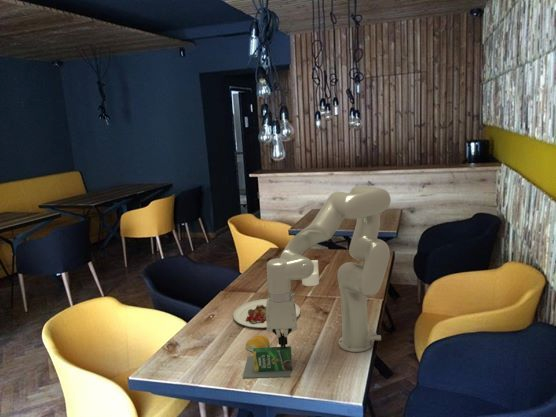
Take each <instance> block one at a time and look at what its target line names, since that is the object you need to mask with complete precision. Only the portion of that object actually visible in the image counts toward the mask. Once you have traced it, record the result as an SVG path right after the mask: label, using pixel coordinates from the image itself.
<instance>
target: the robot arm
mask: <svg viewBox="0 0 556 417" xmlns="http://www.w3.org/2000/svg"><path fill="white" fill-rule="evenodd" d="M390 205H391V196H390V193H389V191H387V190H386V189H385V188H383V187H382V188H380V187H376V186H368V185H355V186H353V187H352V188H351V189H350V192H349V193H348V192H343V191H336V192H333V193H332V194H330V195H329V196H328V197H327V199H326V200H325V202H324V204H323V205H322V206H321V208H320V210H319V211H318V213H317V214H316V216H315V217H314V218H313V220H312V221H311V223H310V224H309V225H308V226H306V227H305V228H303V229H302V230H300V231H299V232H297V234H295V235H294V236H293V237H292V238H291V239H290V240H289V241H288V243H287V244H286V246H285V248H284V249H283V250H282V251H281V252H282V253H281V254H280V257H275V258H272V259H269V260H268V261H267V262H266V279H267V290H268V291H267V292H268V297H267V298H266V299H267V304H266V323H267V327H266V330H265V331H266V332H270V333H273V334H274V335H276V337H277V338H278V339H277V340H278V346H280V347H281V348H285V347H286V345H287V346H288V343H289V342H288V336H289V334H291V333H292V332H296V331H298V329H299V326H298V323H297V322H298V320H297V318H298V317H297V316H296V307H295V299H294V296H296V292H295V291H293V290H292V289H291V288H292V287H291V281H294V280H295V281H296V280H297V281H298V280H302V279H305V278H308V277H309V276H311V275H312V273H313V271H314V265H313V263H312V261H311V259H310V258H308V257H307V256H304V253H305V252H306V251H307V250H308V249H309V248H310V247H312V246H314V245H316V244H319V243H322V242H323V243H324V242H326V241H329V240H330V239H332V237H333V236H334V234H335V233H336V231H337V230H338V229H339V227H340V226H341V224H342V222H343V221H344V219H348V220H356V224H355V228H354V231H353V233H352V237H351V240H350V244H349V248H348V250H349V251H348V252H349V255H350V256H351V257H352V258H353V259H355V260H357V261H359V262H363V263H364V264H363V265H362V264H360V263H356V262H354V261H348V262H344V263H343V264H341V266H340V267H339V268H338V270H337V283H338V288H339V292H340V304H341V306H340V309H341V310H340V311H341V314H340V315H341V331H342V332H341V334H342V336H340V338H339V339H338V346H339V348H341V349H342V350H345V351H347V352H352V353H360V352H361V353H362V352H365V351H368V350H370V349H371V348H372V347H373V342H374V341H376V342H377V341H382V336H381V334H377V332H369V325H368V324H369V322H368V321H369V320H368V299H367V298H368V297H374V296H375V295H377V294H378V292H379V291H380V289H381V287H382V284H383V282H384V277H385V274H386V272H387V267H388V265H389V261H390V257H391V254H390V253H391V252H390V247H389V245H388V244H387V243H386V242H385V241H384V240H382V239H380V238H378V236H379V232H380V228H381V219H380V218H381V217H380V214H381V213H383V212H385V211H386V210H387V209H388V208H389V207H390ZM281 330H284V331H283V333H282V331H281Z"/></svg>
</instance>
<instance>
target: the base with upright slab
mask: <svg viewBox="0 0 556 417" xmlns="http://www.w3.org/2000/svg"><path fill="white" fill-rule="evenodd" d="M310 260H311V259H310ZM311 261H312V263H313V265H314V271H313V273H312V275H311V276H309V277H308V278H305V279H301V285H303V286H306V287H313V286H314V287H315V286H317V285H319V284H320V274H319V273H320V272H319V260H318V259H317V260H316V259H315V260H314V259H312V260H311Z"/></svg>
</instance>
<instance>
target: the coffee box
mask: <svg viewBox="0 0 556 417" xmlns="http://www.w3.org/2000/svg"><path fill="white" fill-rule="evenodd" d="M252 356H253V359H254V370H255V372H265V371H283V370H291V371H292V370H293V361H292V346H291V345H289V346H288V345H287V346H286V347H285V348H281V346H271V347H270V346H269V347H265V348H253V352H252Z"/></svg>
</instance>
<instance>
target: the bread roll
mask: <svg viewBox="0 0 556 417" xmlns="http://www.w3.org/2000/svg"><path fill="white" fill-rule="evenodd" d="M270 345H271V344H270V340H269V339H268V337H266V336H264V335H256V336H254V337H252V338H251V339H248V340H246V343H245V348H246V350H247V351H248V352H252V353H253V348H265V347H270Z"/></svg>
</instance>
